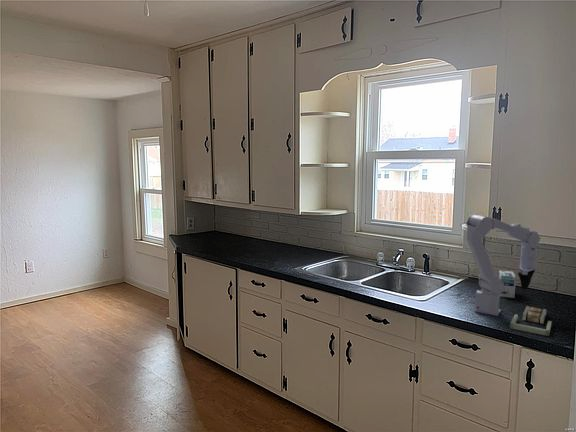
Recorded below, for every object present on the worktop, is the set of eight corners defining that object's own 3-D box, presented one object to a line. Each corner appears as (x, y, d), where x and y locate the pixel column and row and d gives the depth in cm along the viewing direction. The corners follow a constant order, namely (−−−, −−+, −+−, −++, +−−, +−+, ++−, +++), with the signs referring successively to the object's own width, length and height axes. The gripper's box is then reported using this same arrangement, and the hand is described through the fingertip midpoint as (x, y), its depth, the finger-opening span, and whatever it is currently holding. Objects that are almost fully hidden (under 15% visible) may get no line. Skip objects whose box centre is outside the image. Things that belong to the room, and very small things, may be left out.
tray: (509, 328, 172) (510, 323, 172) (514, 318, 182) (514, 314, 181) (548, 336, 165) (549, 331, 164) (551, 326, 174) (551, 321, 174)
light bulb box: (514, 298, 207) (516, 276, 205) (499, 296, 209) (500, 275, 208) (512, 291, 217) (513, 271, 215) (497, 290, 219) (498, 269, 218)
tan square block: (529, 316, 185) (529, 309, 184) (530, 313, 188) (530, 307, 187) (539, 318, 182) (540, 311, 182) (540, 315, 186) (541, 309, 185)
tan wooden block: (527, 320, 180) (527, 314, 179) (528, 317, 183) (529, 311, 183) (538, 323, 178) (538, 316, 177) (539, 320, 181) (539, 313, 180)
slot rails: (522, 319, 180) (522, 314, 180) (526, 311, 190) (526, 305, 190) (543, 324, 176) (543, 318, 176) (545, 314, 186) (546, 309, 185)
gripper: (536, 261, 181) (533, 292, 183) (540, 255, 193) (537, 284, 195) (517, 259, 185) (515, 289, 187) (522, 253, 197) (520, 281, 199)
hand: (525, 286), depth 191 cm, fingers open, 6 cm apart
